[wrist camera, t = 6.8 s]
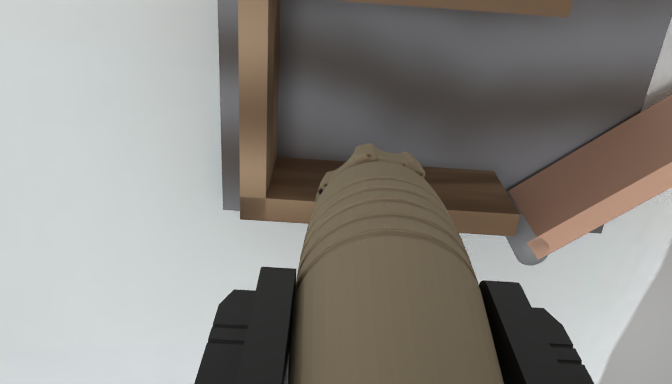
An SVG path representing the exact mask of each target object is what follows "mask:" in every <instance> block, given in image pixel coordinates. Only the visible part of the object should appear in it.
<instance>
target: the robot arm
mask: <svg viewBox="0 0 672 384" xmlns="http://www.w3.org/2000/svg"><path fill="white" fill-rule="evenodd" d="M295 287H296V269H290V268H273V267H261V270H260V275H259V279H258V284H257V288H256V291H250V290H233V291H232V292H231V293H230V294H229V295H228V296H227V297H226V298H225V299H224V300H223V301H222V302H221V303H220V304H219V306H218V309H217V312H216V316H215V319H214V322H213V327H212V329H211V332H210V335H209V338H208V343H207V345H206V348H205V351H204V354H203V358H202V361H201V364H200V367H199V370H198V374H197V377H196V380H195V383H194V384H288V367H289V347H290V335H291V324H292V313H293V303H294V297H295ZM479 288H480V290H481V294H482V298H483V302H484V306H485V310H486V314H487V318H488V322H489V326H490V330H491V334H492V338H493V342H494V346H495V350H496V354H497V358H498V362H499V366H500V370H501V374H502V378H503V382H504V384H594V383H593V381H592V379H591V377H590V375H589V373H588V371H587V370H586V368H585V366H584V365H582V363H581V362H582V360H581V358H580V357H579V355H578V353H577V351H576V349H574V348H573V344H572V342H571V340H570V338H569V336H568V334H567V333H566V331H565V329H564V327H563V325H562V324H560V323H559V322H558V321H557V320H556V319H555V318H554V317H553V316H552V315H551V314H549V313H548V312H547V311H546V310H545V309H544V308H532V307H531V305H530V303H529V301H528V299H527V297H526V295H525V293H524V291H523V289H522V287H521V285H520V284H519V283H515V282H499V281H481V282H480V284H479Z"/></svg>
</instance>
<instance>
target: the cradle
mask: <svg viewBox="0 0 672 384" xmlns="http://www.w3.org/2000/svg"><path fill="white" fill-rule="evenodd" d="M671 17H672V0H218V28H219V68H220V107H221V146H222V185H223V210H235V211H240V219H243V220H259V221H275V222H292V223H308V224H309V222H310V219H311V216H312V213H313V210H314V208H315V200H316V195H317V192H318V189H319V186H320V183H321V181H322V179H323V178H324V176H325V174H326V173H327V172H329V171H334V170H336V169H338V168H339V167H341V166H342V165H343V164H345V163H346V162H347V161H348V159H349V158H350V157H351V156H352V154H353V153H354V151H355V148H356V147H357V146H359V145H362V144H368V143H371V144H374V146H375V147H376V148H378V149H380V150H382V151H385V152H389V153H402V152H408V153H410V154H411V155H412V156H413V157H414V158H415V159H416V160H417V161H418V162H419V163H420V164H421V165H422V167H423V169H424V171H425V177H424V179H425V180H426V181H427V183H428V184H429V185H430V186H431V187H432V188H433V190H434V191H435V192H436V193H437V195H438V196H439V198H440V199H441V201H442V202H443V204H444V206H445V207H446V209H447V211H448V213H449V215H450V217H451V219H452V221H453V223H454V225H455V227H456V229H457V231H458V233H469V234H485V235H501V236H515V234H516V230H517V226H518V222H519V218H520V213H519V212H518V210H517V208H516V207H515V205H514V203H513V202H512V200H511V198H510V197H509V195H508V193H507V192H506V191H508V190H510V189H512V188H514V187H515V186H517V185H519V184H520V183H522V182H524V181H525V180H527V179H529V178H530V177H532V176H534V175H536V174H537V173H539V172H541V171H542V170H544V169H546V168H547V167H549V166H551V165H552V164H554V163H556V162H558V161H559V160H561V159H563V158H564V157H566V156H568V155H569V154H571V153H573V152H574V151H576V150H578V149H580V148H581V147H583V146H585V145H586V144H588V143H590V142H591V141H593V140H595V139H596V138H598V137H600V136H602V135H603V134H605V133H607V132H608V131H610V130H612V129H613V128H615V127H617V126H618V125H620V124H622V123H623V122H625V121H627V120H629V119H630V118H632V117H634V116H635V115H637V114H639V113H640V112H641V109H642V106H643V103H644V100H645V97H646V94H647V91H648V88H649V84H650V81H651V78H652V75H653V72H654V69H655V66H656V63H657V60H658V57H659V54H660V51H661V48H662V44H663V41H664V38H665V35H666V32H667V29H668V26H669V23H670V20H671ZM603 226H604V224H603V225H601V226H600V227H598V228H596V229H594V230H592V231H590V232H589V233H601V232H602V229H603Z"/></svg>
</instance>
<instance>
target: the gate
mask: <svg viewBox="0 0 672 384" xmlns="http://www.w3.org/2000/svg"><path fill="white" fill-rule="evenodd" d="M671 187H672V94H671V95H669V96H667V97H666V98H664V99H662V100H661V101H659V102H657V103H656V104H654V105H652V106H651V107H649V108H647V109H645V110H644V111H642V112H640V113H639V114H637V115H635V116H634V117H632V118H630V119H629V120H627V121H625V122H623V123H622V124H620V125H618V126H617V127H615V128H613V129H612V130H610V131H608V132H607V133H605V134H603V135H602V136H600V137H598V138H596V139H595V140H593V141H591V142H590V143H588V144H586V145H585V146H583V147H581V148H580V149H578V150H576V151H574V152H573V153H571V154H569V155H568V156H566V157H564V158H563V159H561V160H559V161H558V162H556V163H554V164H552V165H551V166H549V167H547V168H546V169H544V170H542V171H541V172H539V173H537V174H536V175H534V176H532V177H530V178H529V179H527V180H525V181H524V182H522V183H520V184H519V185H517V186H515V187H514V188H512V189H510V190H508V191H506V192H507V193H508V195H509V197H510V198H511V200H512V202H513V203H514V205H515V207H516V208H517V210H518V212H519V213H520V218H519V222H518V226H517V230H516V234H515V236H506V238H507V240H508V242H509V244H510V246H511V248H512V250H513V252H514V254H515V256H516V258H517V259H518V261H519V262H521V263H522V264H525V265H536V264H538V263H540V262H542V261H543V260H545V258H546V257H547V256H548V254H550V253H552V252H554V251H556V250H557V249H559V248H561V247H563V246H565V245H567V244H568V243H570V242H572V241H574V240H576V239H578V238H579V237H581V236H583V235H585V234H587V233H589V232H590V231H592V230H594V229H596V228H598V227H600V226H601V225H603V224H605V223H607V222H609V221H611V220H612V219H614V218H616V217H618V216H620V215H622V214H623V213H625V212H627V211H629V210H631V209H633V208H634V207H636V206H638V205H640V204H642V203H644V202H645V201H647V200H649V199H651V198H653V197H655V196H656V195H658V194H660V193H662V192H664V191H666V190H667V189H669V188H671Z"/></svg>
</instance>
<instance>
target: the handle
mask: <svg viewBox="0 0 672 384" xmlns="http://www.w3.org/2000/svg"><path fill="white" fill-rule="evenodd" d="M424 177H425V171H424V169H423V167H422V165H421V164H420V163H419V162H418V161H417V160H416V159H415V158H414V157H413V156H412V155H411V154H410V153H408V152H402V153H389V152H385V151H382V150H380V149H378V148H376V147H375V146H374V144H371V143H368V144H362V145H359V146H357V147H356V148H355V151H354V153H353V154H352V156H351V157H350V158H349V159H348V161H347V162H346V163H345V164H343V165H342V166H341V167H339V168H338V169H336V170H334V171H329V172H327V173H326V174H325V176H324V178H323V179H322V181H321V183H320V186H319V189H318V192H317V195H316V200H315V208H314V210H313V213H312V216H311V219H310V222H309V225H308V228H307V233H306V236H305V240H304V245H303V249H302V253H301V257H300V262H299V268H298V274H297V280H296V287H295V297H294V303H293V313H292V324H291V335H290V347H289V367H288V384H504V382H503V378H502V374H501V370H500V366H499V362H498V358H497V354H496V350H495V346H494V342H493V338H492V334H491V330H490V326H489V322H488V318H487V314H486V310H485V306H484V302H483V298H482V294H481V290H480V288H479V285H478V281H477V279H476V276H475V273H474V270H473V268H472V265H471V262H470V259H469V257H468V254H467V251H466V249H465V246H464V244H463V242H462V240H461V237H460V235H459V233H458V231H457V229H456V227H455V225H454V223H453V221H452V219H451V217H450V215H449V213H448V211H447V209H446V207H445V206H444V204H443V202H442V201H441V199H440V198H439V196H438V195H437V193H436V192H435V191H434V190H433V188H432V187H431V186H430V185H429V184H428V183H427V181H426V180H425V179H424Z"/></svg>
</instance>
